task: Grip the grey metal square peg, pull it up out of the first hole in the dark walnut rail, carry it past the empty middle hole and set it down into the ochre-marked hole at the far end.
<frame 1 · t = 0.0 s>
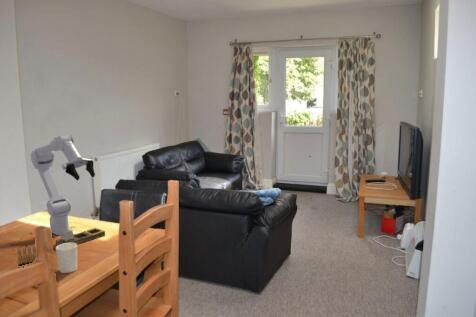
hand: (86, 177, 184), 32 cm above the table, tool tilted 50°, fingers open, 7 cm apart
metal peg: (67, 244, 190), resting in walnut rail
ammunition clip: (34, 273, 161), on the table
white cup: (68, 270, 164), on the table
walnut rail: (81, 239, 196), on the table
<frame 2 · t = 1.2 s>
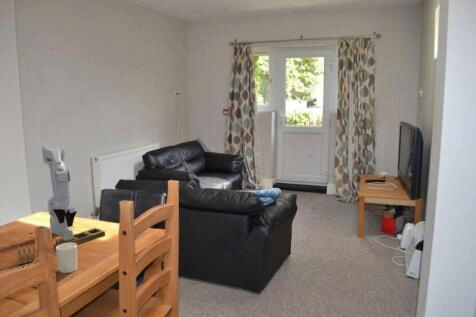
hand: (65, 224, 189), 10 cm above the table, tool pointing down, fingers open, 7 cm apart
nothing on the table moved.
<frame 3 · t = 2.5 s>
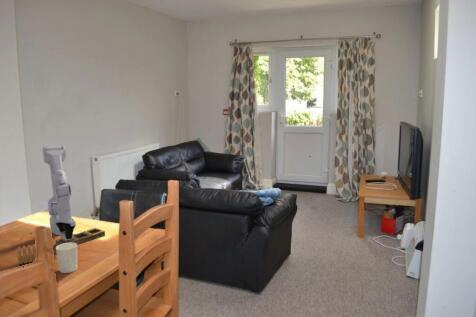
hand: (66, 237, 190), 3 cm above the table, tool pointing down, fingers closed on metal peg, 4 cm apart
metal peg: (67, 244, 190), resting in walnut rail, touching gripper
everything else where it was.
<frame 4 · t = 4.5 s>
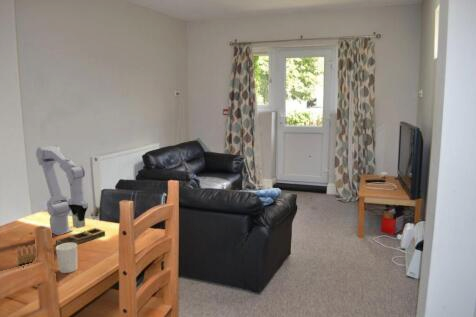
hand: (79, 219, 194), 10 cm above the table, tool pointing down, fingers closed on metal peg, 4 cm apart
metal peg: (79, 226, 194), point 7 cm above the table, touching gripper
everything else where it was.
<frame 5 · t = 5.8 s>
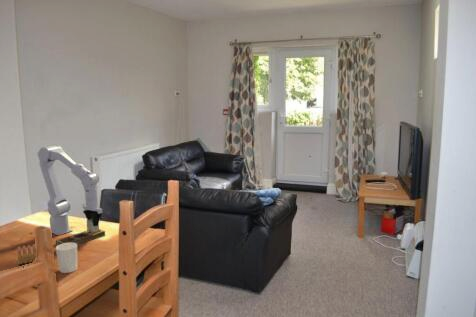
hand: (93, 224, 200), 6 cm above the table, tool pointing down, fingers closed on metal peg, 4 cm apart
metal peg: (93, 231, 200), point 2 cm above the table, touching gripper
everything else where it was.
when the fingers open (4 cm above the table, at t = 6.9 s): metal peg stays where it is, resting in walnut rail.
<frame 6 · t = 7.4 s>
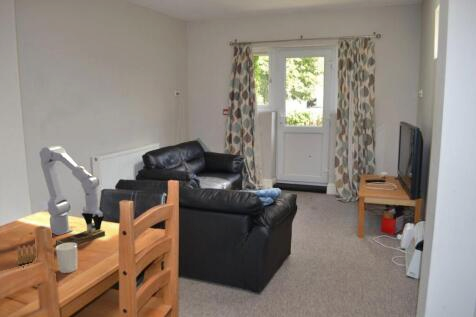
hand: (93, 227, 200), 4 cm above the table, tool pointing down, fingers open, 7 cm apart
metal peg: (93, 235, 201), resting in walnut rail
everything else where it was.
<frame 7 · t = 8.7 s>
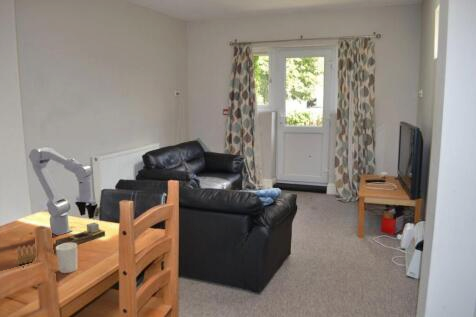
hand: (87, 216, 201), 9 cm above the table, tool pointing down, fingers open, 7 cm apart
nothing on the table moved.
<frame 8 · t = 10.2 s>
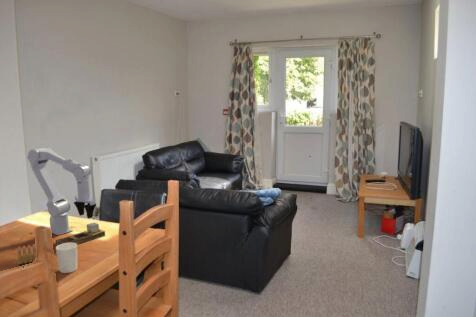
hand: (85, 216, 201), 9 cm above the table, tool pointing down, fingers open, 7 cm apart
nothing on the table moved.
at the end: metal peg 0.5 cm from the target spot on the walnut rail, point 0.0 cm above the walnut rail's base; metal peg tilted 0°; the gripper is holding nothing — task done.
